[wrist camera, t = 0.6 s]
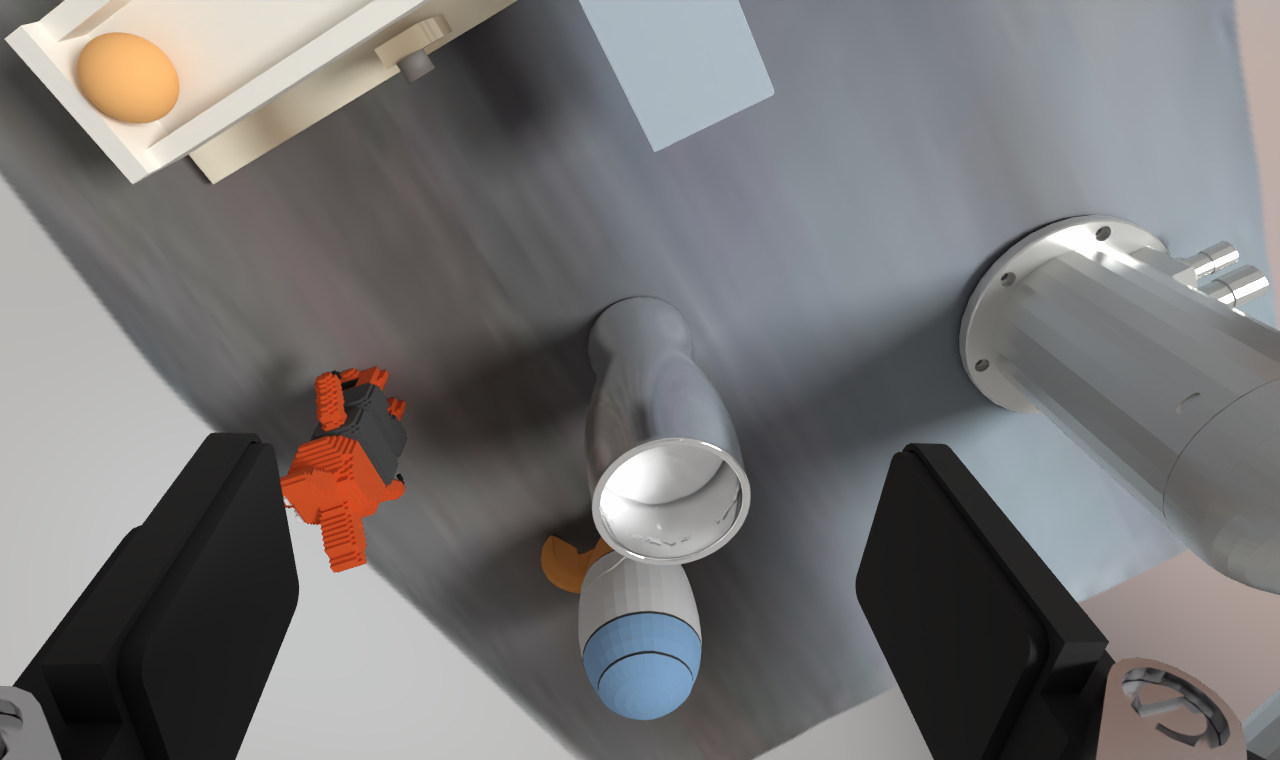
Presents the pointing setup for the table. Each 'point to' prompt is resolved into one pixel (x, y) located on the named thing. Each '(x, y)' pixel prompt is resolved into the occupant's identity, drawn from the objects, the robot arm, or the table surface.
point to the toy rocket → (630, 627)
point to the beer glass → (659, 440)
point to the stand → (345, 82)
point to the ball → (128, 77)
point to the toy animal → (347, 461)
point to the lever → (342, 21)
